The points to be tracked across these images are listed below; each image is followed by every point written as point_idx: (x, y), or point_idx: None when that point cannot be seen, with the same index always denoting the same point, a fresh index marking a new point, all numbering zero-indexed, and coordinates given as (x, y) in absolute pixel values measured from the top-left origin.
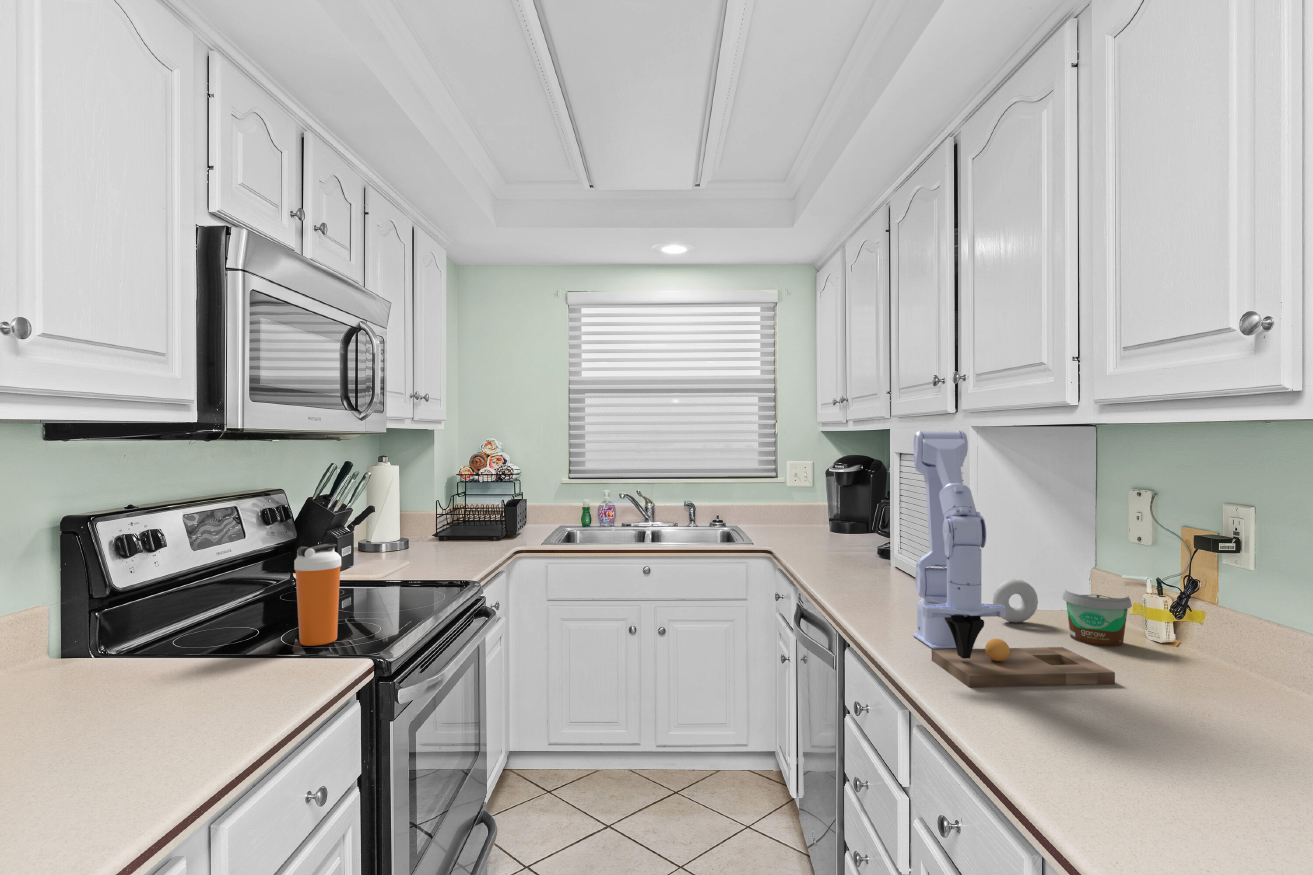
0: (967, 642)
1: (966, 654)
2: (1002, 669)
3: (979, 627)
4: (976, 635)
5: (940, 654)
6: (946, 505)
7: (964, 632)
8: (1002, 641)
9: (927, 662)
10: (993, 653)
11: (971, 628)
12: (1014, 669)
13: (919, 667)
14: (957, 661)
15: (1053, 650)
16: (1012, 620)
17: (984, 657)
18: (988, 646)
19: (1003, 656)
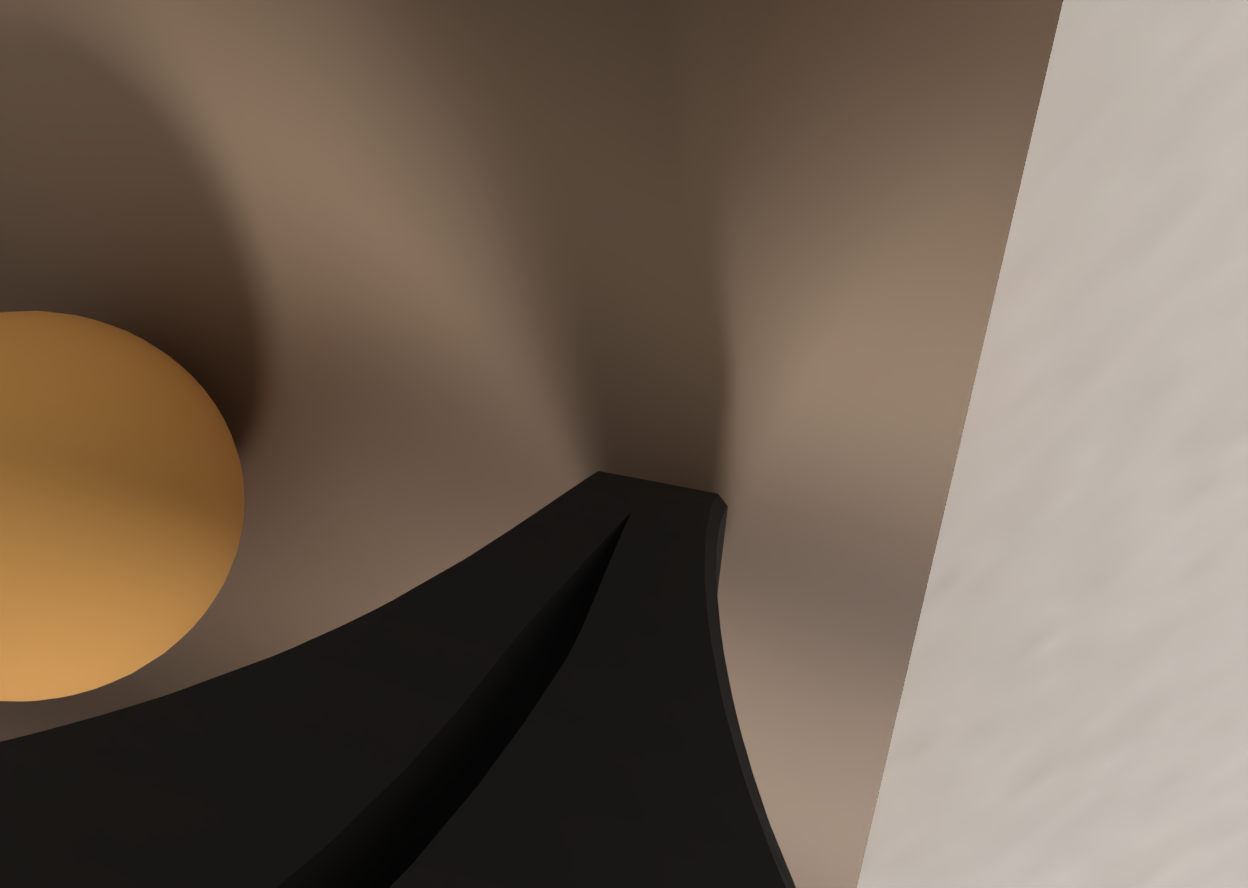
0: (540, 672)
1: (655, 505)
2: (236, 44)
3: (22, 793)
4: (275, 671)
5: (838, 837)
6: None
7: (614, 828)
8: None
9: (956, 839)
10: (158, 408)
11: (324, 855)
12: (49, 11)
13: (1223, 751)
14: (776, 548)
15: None
16: None
17: (281, 574)
18: (144, 556)
19: (41, 314)
